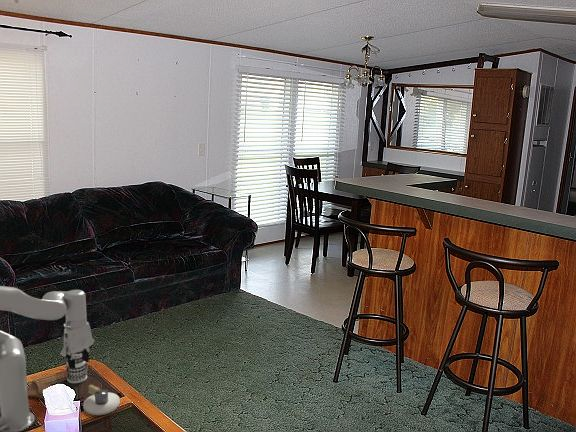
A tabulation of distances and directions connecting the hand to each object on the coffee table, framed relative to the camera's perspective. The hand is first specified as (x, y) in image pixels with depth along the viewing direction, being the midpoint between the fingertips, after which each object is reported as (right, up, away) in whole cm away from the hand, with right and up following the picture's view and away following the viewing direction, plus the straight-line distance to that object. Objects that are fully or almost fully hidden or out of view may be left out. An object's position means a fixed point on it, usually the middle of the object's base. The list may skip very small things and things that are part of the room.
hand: (78, 363), depth 215 cm
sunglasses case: (-19, -17, +13) cm, 28 cm away
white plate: (+7, -19, +7) cm, 21 cm away
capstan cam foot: (+5, -17, +8) cm, 19 cm away
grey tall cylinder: (-11, -13, +26) cm, 31 cm away
